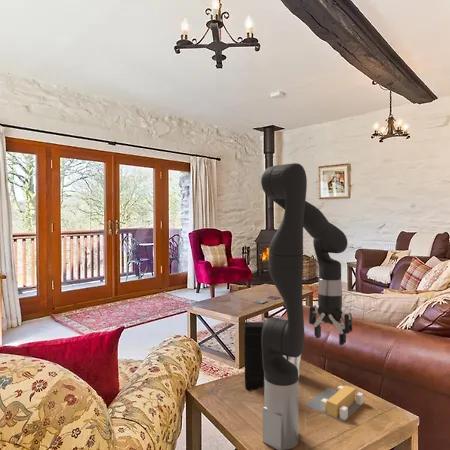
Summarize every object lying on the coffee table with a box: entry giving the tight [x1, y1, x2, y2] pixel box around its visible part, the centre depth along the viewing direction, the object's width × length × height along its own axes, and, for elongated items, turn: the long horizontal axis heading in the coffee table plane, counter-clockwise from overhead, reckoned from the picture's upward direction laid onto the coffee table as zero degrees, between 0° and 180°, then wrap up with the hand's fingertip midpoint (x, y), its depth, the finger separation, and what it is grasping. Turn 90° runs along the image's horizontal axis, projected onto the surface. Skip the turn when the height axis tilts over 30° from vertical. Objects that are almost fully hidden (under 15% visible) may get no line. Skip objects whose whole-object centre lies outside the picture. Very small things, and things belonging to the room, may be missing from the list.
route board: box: [304, 385, 365, 423], centre depth 112 cm, size 15×13×4 cm
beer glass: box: [283, 354, 302, 378], centre depth 132 cm, size 7×7×15 cm
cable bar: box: [327, 384, 356, 418], centre depth 110 cm, size 13×3×4 cm, turn 135°
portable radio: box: [243, 316, 265, 390], centre depth 126 cm, size 8×6×25 cm
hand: (329, 341), depth 115 cm, fingers open, 8 cm apart
